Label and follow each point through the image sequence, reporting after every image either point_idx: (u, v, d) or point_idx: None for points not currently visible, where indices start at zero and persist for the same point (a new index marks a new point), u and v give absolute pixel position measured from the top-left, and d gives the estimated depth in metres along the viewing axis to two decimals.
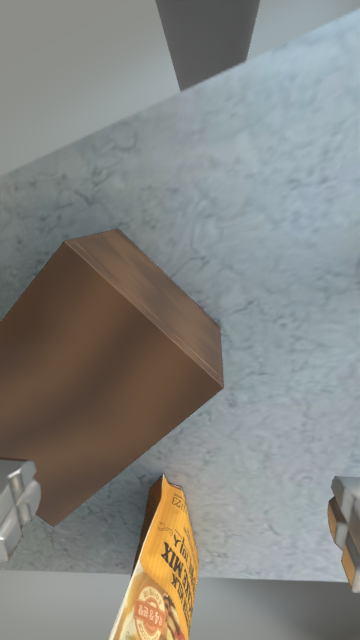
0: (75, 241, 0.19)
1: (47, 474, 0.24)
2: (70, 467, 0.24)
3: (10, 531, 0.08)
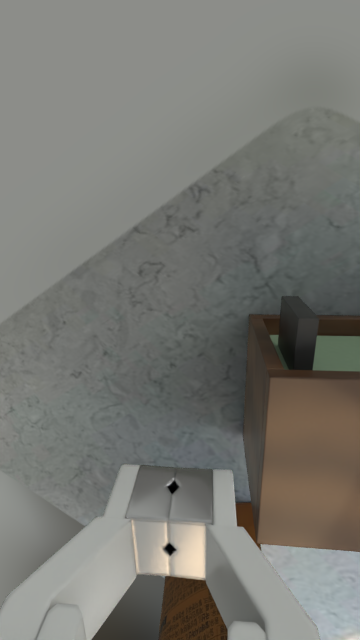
0: None
1: (326, 509, 0.20)
2: (356, 520, 0.20)
3: (170, 543, 0.08)
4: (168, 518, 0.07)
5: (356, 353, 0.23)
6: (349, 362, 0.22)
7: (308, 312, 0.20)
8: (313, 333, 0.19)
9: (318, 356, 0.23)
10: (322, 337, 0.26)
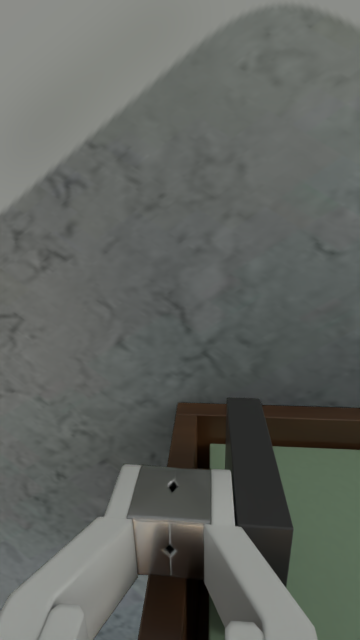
0: None
1: None
2: None
3: None
4: (167, 518, 0.07)
5: None
6: None
7: (269, 485, 0.08)
8: (279, 560, 0.07)
9: (301, 528, 0.11)
10: (311, 454, 0.14)
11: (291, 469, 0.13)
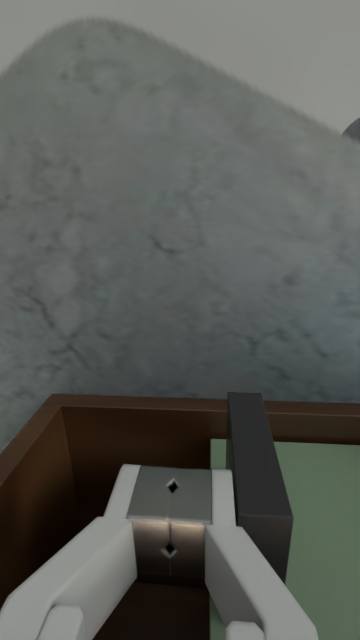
0: None
1: None
2: None
3: None
4: (167, 518, 0.07)
5: None
6: None
7: (270, 476, 0.08)
8: (279, 549, 0.07)
9: (301, 521, 0.11)
10: (312, 449, 0.14)
11: (291, 464, 0.14)
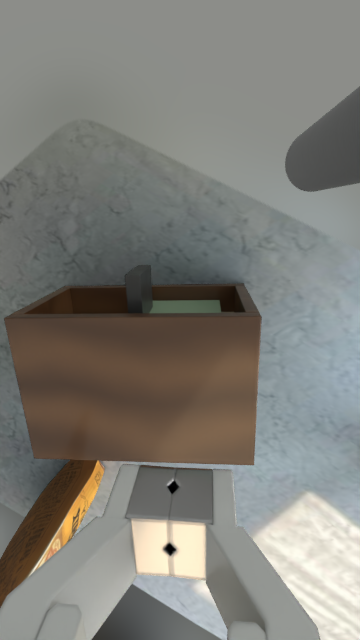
0: (259, 314, 0.24)
1: (74, 425, 0.27)
2: (98, 433, 0.27)
3: (170, 544, 0.08)
4: (169, 518, 0.07)
5: (196, 309, 0.29)
6: None
7: (138, 272, 0.26)
8: (137, 287, 0.25)
9: (164, 312, 0.29)
10: (183, 301, 0.32)
11: (171, 304, 0.31)
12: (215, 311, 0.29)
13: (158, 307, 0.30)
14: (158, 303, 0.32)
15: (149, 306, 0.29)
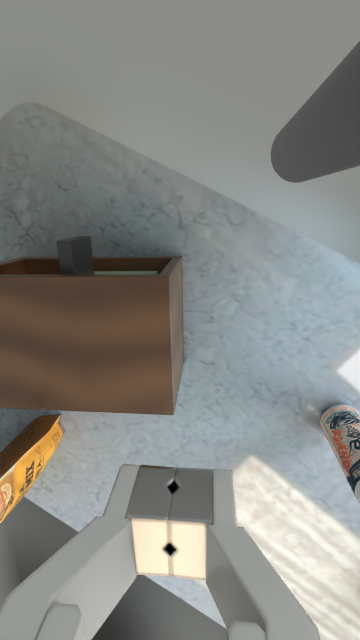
0: (171, 276, 0.26)
1: (15, 376, 0.30)
2: (36, 383, 0.30)
3: (170, 543, 0.08)
4: (168, 518, 0.07)
5: None
6: None
7: (71, 239, 0.29)
8: (68, 252, 0.28)
9: None
10: (124, 271, 0.35)
11: (112, 273, 0.34)
12: None
13: None
14: (100, 273, 0.35)
15: (87, 273, 0.32)
